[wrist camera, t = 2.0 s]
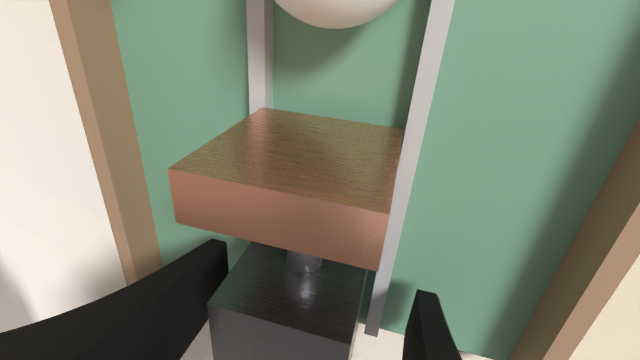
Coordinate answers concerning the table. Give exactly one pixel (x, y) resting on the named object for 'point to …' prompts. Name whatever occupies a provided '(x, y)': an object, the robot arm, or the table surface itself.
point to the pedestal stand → (291, 228)
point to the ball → (335, 11)
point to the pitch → (416, 149)
